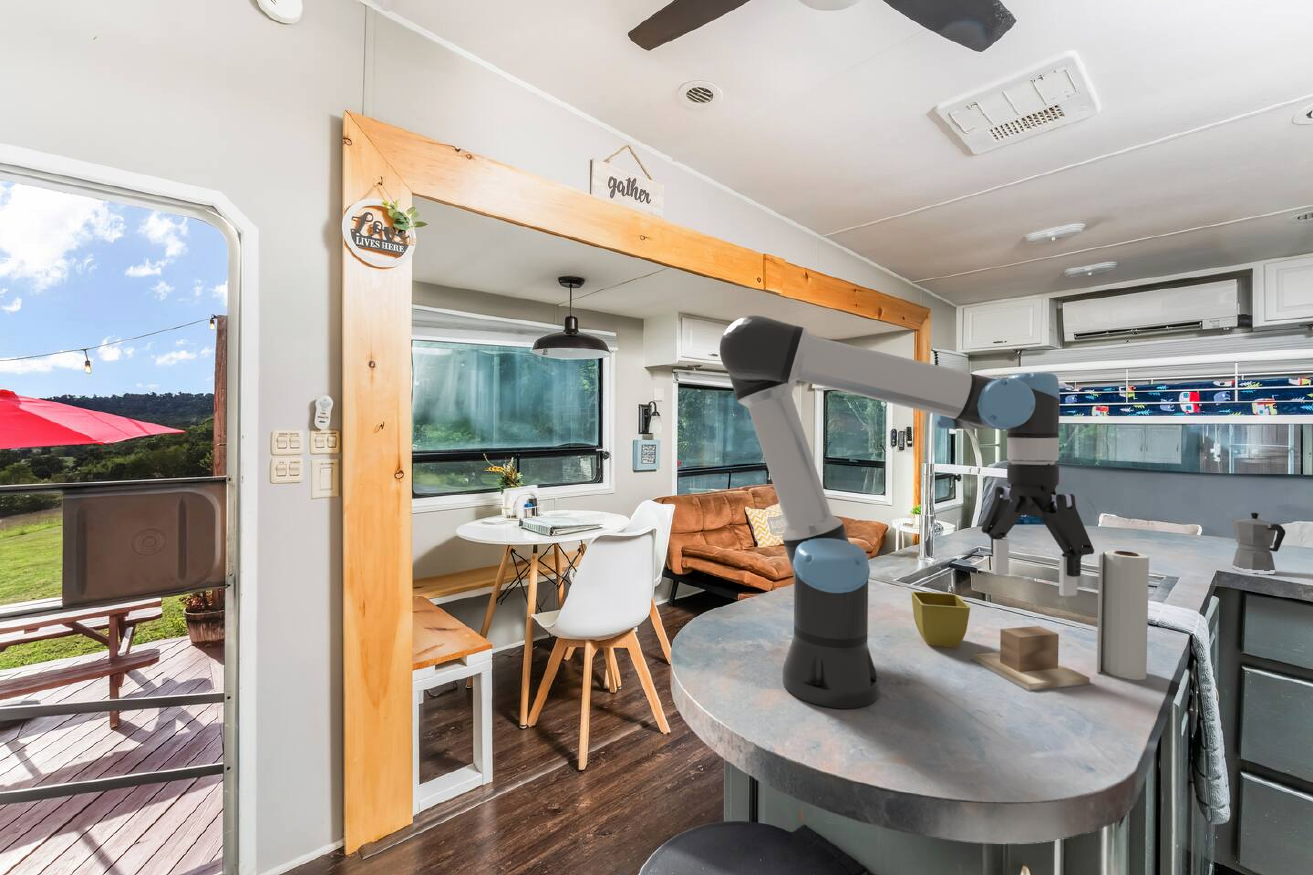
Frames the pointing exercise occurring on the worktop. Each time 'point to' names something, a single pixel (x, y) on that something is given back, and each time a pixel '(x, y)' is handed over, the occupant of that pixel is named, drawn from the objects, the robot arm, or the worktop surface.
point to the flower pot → (940, 618)
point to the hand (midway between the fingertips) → (1032, 584)
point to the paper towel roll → (1123, 614)
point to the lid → (1030, 659)
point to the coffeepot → (1256, 543)
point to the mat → (1033, 689)
